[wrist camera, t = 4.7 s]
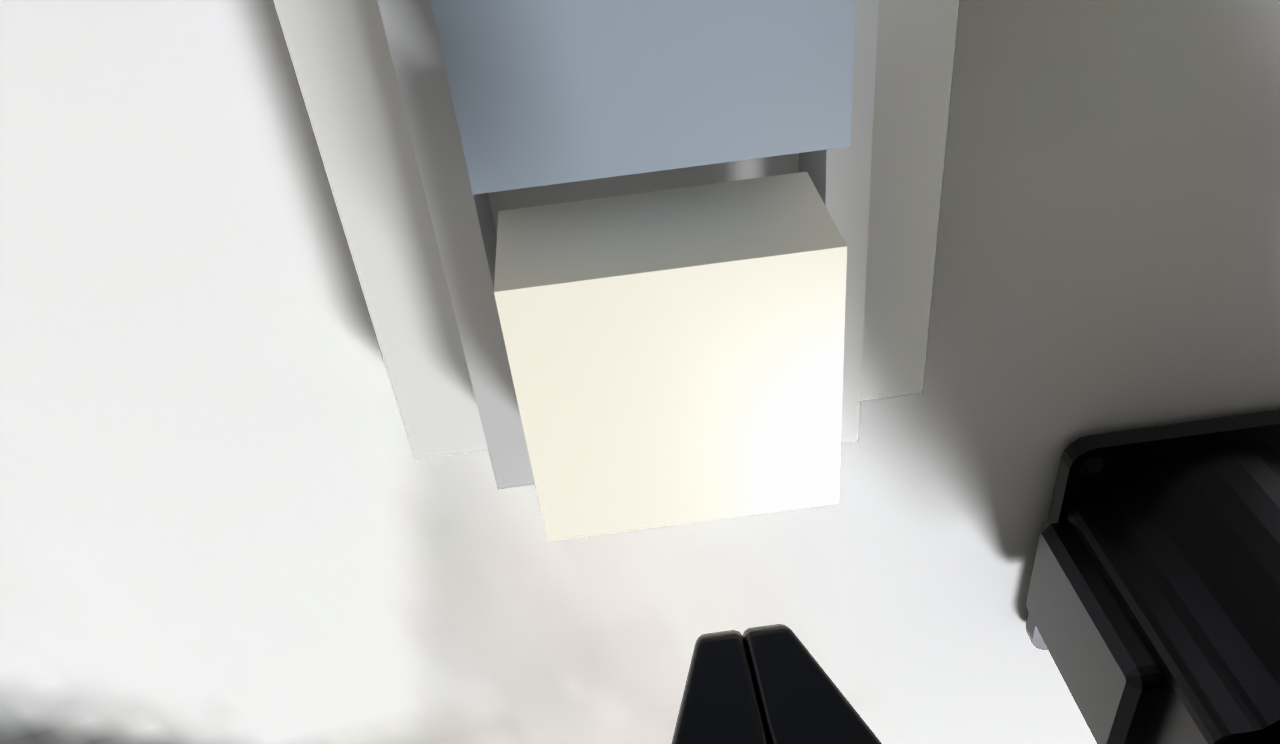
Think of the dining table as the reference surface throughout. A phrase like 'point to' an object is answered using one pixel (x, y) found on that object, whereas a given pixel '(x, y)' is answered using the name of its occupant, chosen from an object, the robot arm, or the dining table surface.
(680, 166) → the slate key
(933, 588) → the dining table surface
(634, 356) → the cream square block
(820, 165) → the white long flat frame
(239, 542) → the dining table surface
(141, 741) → the dining table surface
